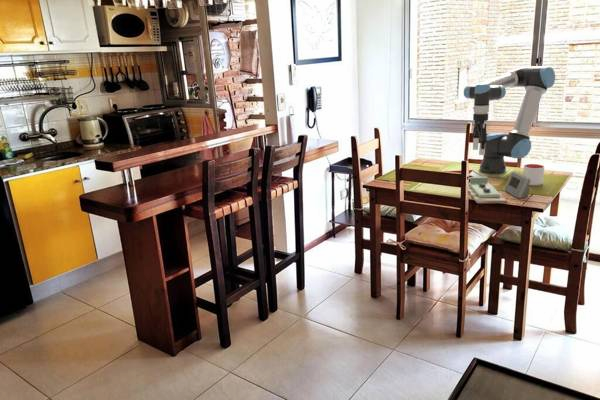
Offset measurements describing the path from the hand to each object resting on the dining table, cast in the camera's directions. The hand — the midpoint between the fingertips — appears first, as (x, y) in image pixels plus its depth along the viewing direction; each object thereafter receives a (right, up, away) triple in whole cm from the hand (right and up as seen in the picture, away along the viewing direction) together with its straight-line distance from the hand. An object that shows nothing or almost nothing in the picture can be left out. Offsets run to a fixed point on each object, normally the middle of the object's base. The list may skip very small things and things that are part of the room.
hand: (478, 152), depth 249 cm
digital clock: (+14, -24, -14) cm, 31 cm away
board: (-1, -23, -11) cm, 26 cm away
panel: (-1, -21, -10) cm, 24 cm away
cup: (+30, -17, +2) cm, 35 cm away
